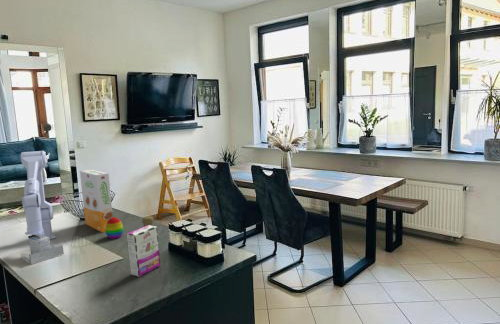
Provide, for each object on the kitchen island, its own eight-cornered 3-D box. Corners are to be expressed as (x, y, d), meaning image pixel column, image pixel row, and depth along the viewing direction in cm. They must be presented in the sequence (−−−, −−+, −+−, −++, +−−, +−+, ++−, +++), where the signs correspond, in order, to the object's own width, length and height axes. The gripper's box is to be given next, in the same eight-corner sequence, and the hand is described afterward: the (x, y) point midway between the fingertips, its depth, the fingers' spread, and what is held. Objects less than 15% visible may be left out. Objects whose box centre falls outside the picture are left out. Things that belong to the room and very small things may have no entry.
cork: (152, 241, 173) (150, 218, 172) (140, 240, 175) (138, 218, 173) (157, 236, 179) (156, 215, 178) (146, 236, 180) (144, 214, 179)
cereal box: (113, 229, 193) (108, 173, 189) (102, 232, 189) (96, 175, 185) (96, 221, 209) (91, 169, 205) (85, 223, 205) (79, 170, 201)
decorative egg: (126, 234, 185) (125, 214, 184) (119, 239, 177) (117, 219, 176) (111, 234, 186) (109, 215, 185) (103, 239, 178) (101, 219, 177)
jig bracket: (21, 258, 159) (19, 249, 158) (52, 248, 169) (51, 240, 168) (31, 264, 151) (30, 255, 151) (63, 254, 161) (62, 245, 161)
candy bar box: (152, 263, 148) (148, 224, 145) (161, 266, 145) (157, 226, 143) (129, 274, 138) (125, 233, 136) (138, 277, 136) (135, 235, 133)
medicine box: (52, 256, 160) (49, 237, 158) (42, 260, 156) (39, 240, 155) (40, 253, 163) (38, 234, 162) (31, 257, 160) (28, 237, 158)
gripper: (17, 220, 163) (21, 249, 165) (30, 226, 154) (34, 257, 156) (35, 216, 168) (38, 244, 170) (48, 222, 159) (51, 251, 161)
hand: (37, 250), depth 163 cm, fingers closed, pressing on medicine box
